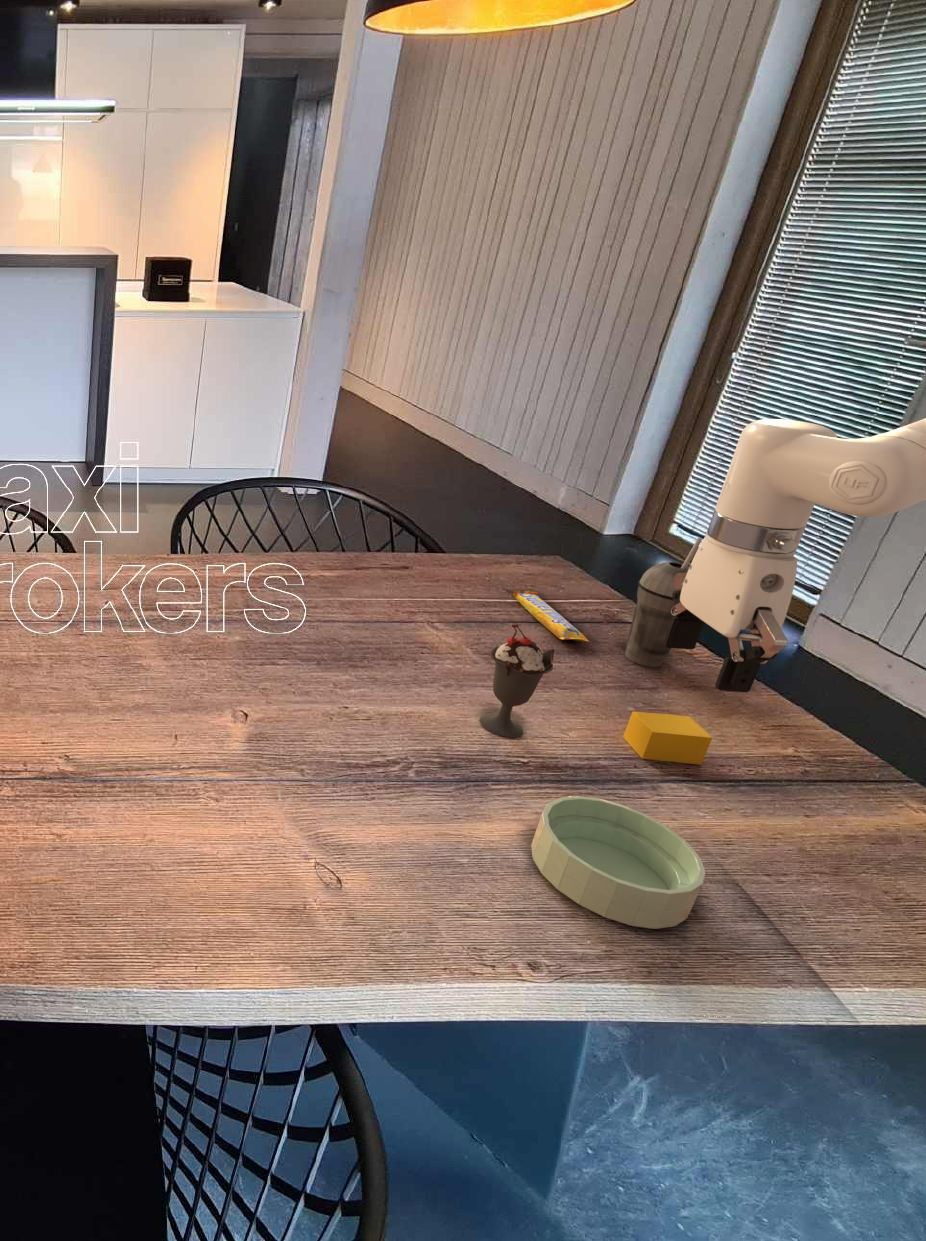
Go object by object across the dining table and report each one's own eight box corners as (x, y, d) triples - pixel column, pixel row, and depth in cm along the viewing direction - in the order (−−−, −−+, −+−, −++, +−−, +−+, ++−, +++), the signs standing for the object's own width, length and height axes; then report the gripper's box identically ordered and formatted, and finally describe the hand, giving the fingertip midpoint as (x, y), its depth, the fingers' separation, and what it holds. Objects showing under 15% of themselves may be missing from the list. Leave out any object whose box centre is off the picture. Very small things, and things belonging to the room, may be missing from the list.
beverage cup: (621, 641, 126) (664, 522, 119) (679, 660, 121) (728, 537, 113) (607, 657, 122) (650, 534, 114) (666, 677, 117) (716, 550, 109)
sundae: (460, 719, 107) (488, 619, 101) (492, 706, 110) (521, 608, 104) (509, 747, 102) (542, 643, 96) (541, 733, 105) (575, 631, 99)
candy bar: (508, 597, 140) (511, 587, 139) (534, 598, 140) (537, 589, 139) (561, 647, 125) (564, 636, 124) (590, 649, 124) (593, 638, 123)
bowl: (640, 841, 87) (655, 804, 85) (719, 942, 75) (738, 902, 73) (508, 825, 89) (520, 789, 87) (565, 922, 77) (581, 882, 75)
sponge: (679, 742, 103) (689, 716, 101) (701, 764, 99) (712, 737, 97) (622, 737, 104) (632, 710, 102) (641, 758, 100) (652, 731, 98)
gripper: (856, 566, 81) (794, 712, 88) (738, 508, 97) (693, 635, 103) (770, 561, 82) (715, 705, 89) (668, 505, 98) (627, 631, 105)
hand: (703, 667), depth 96 cm, fingers open, 9 cm apart
